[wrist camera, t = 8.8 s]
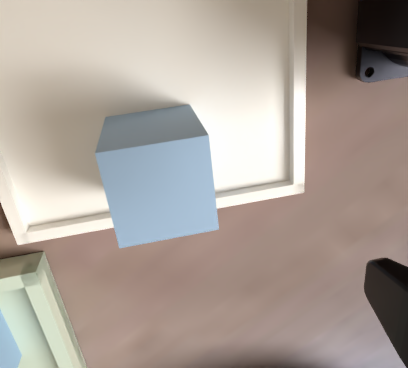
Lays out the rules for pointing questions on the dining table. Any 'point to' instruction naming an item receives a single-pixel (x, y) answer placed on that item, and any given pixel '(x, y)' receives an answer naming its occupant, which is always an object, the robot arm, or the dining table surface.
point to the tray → (37, 314)
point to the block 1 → (8, 346)
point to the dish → (145, 98)
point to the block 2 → (157, 175)
